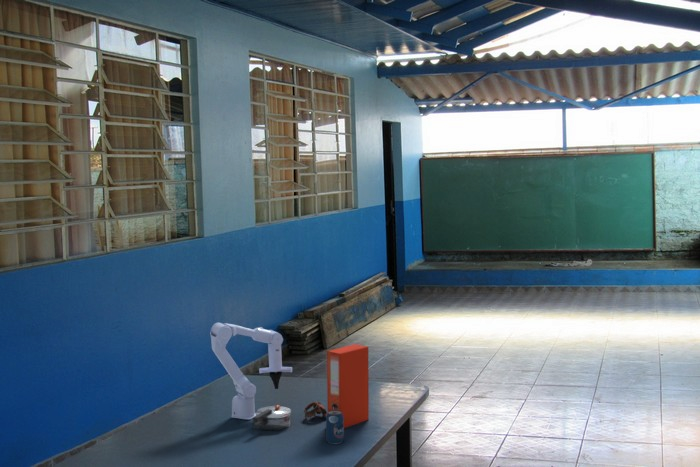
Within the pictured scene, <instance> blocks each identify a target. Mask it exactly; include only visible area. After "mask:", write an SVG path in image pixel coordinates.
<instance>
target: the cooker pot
mask: <svg viewBox="0 0 700 467" xmlns="http://www.w3.org/2000/svg"><path fill="white" fill-rule="evenodd" d="M287 427H288V428H290V427H291V414H290V415H289V416H287V417H283V418H277V419H263V420H262V421H260V422H258V423H255V422H254V424H253V429H259V428H260V430H262V429H263V431H270V430H273V431H281V430H280V429H282V430H285V429H287ZM284 428H285V429H284Z"/></svg>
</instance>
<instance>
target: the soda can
mask: <svg viewBox="0 0 700 467" xmlns="http://www.w3.org/2000/svg"><path fill="white" fill-rule="evenodd" d="M325 426H326V429H325V430H326V431H325V432H326V433H325V434H326V437H325V438H326V441H327V442H328V444H333V445H339V444H341V443H342V442H343V441H344V439H345V430H344V429H345V428H344V416H343V414H342V411H340V410H331V411H328V410H327V416H326V417H325Z"/></svg>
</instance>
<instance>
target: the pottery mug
mask: <svg viewBox="0 0 700 467" xmlns="http://www.w3.org/2000/svg"><path fill="white" fill-rule="evenodd" d="M312 407H313V409H311V408H312ZM309 409H311V410H309ZM303 413H304V419H307V418H312V417H317V415H321V414H322V417H325V418H326V416H327V414H328V411H327V409H326V408H325V407H324V405H323V404H322V403H321V402H320V401H313V402H311V403H309V404H307V405H306V407H305V408H304V411H303Z"/></svg>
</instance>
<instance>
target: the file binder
mask: <svg viewBox="0 0 700 467" xmlns="http://www.w3.org/2000/svg"><path fill="white" fill-rule="evenodd" d="M326 363H327V364H326V368H327V371H326V372H327V375H326V380H327V381H326V382H327V384H326V387H327V388H326V389H327V391H326V393H327V412H328V411H331V410H340V411H342V414H343V416H344V429H346V428H349V427H352V426H354V425H358V424H360V423H363V422H366V421H369V417H370V415H369V410H370V407H369V405H370V404H369V403H370V402H369V401H370V400H369V399H370V398H369V396H370V394H369V393H370V392H369V391H370V390H369V383H370V382H369V376H370V375H369V346H366V345H361V344H356V343H354V344H351V345H350V344H349V345H346V346H342V347H338V348H334V349H330V350H327V351H326Z"/></svg>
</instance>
